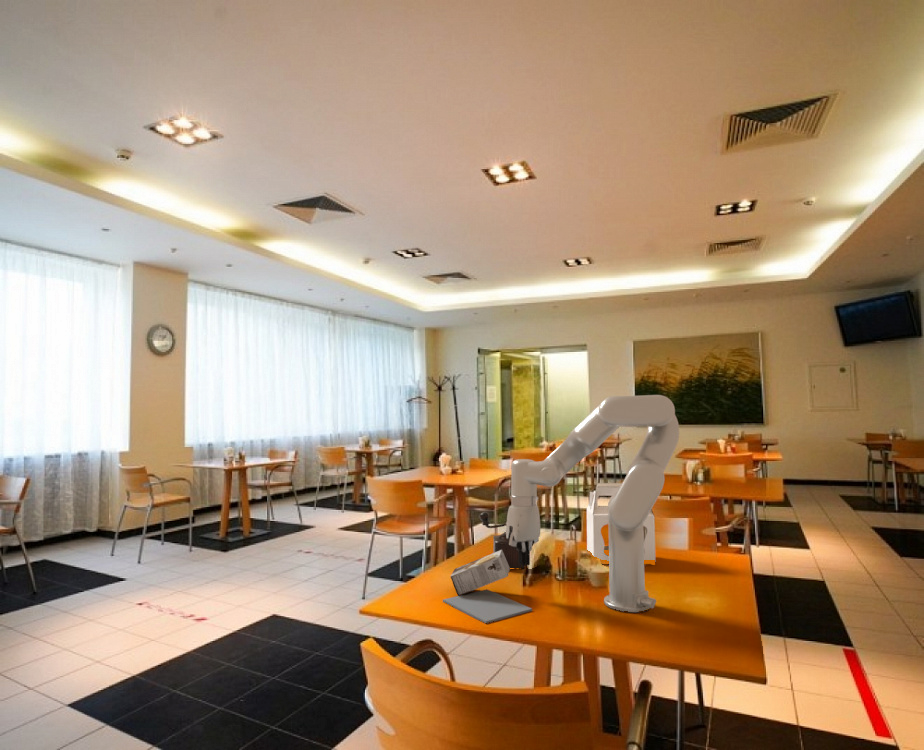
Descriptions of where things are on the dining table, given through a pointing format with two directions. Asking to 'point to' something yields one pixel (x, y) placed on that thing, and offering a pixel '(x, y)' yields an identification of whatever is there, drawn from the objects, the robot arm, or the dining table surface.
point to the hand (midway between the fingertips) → (524, 564)
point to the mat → (487, 606)
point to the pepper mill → (503, 544)
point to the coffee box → (480, 573)
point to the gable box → (599, 518)
